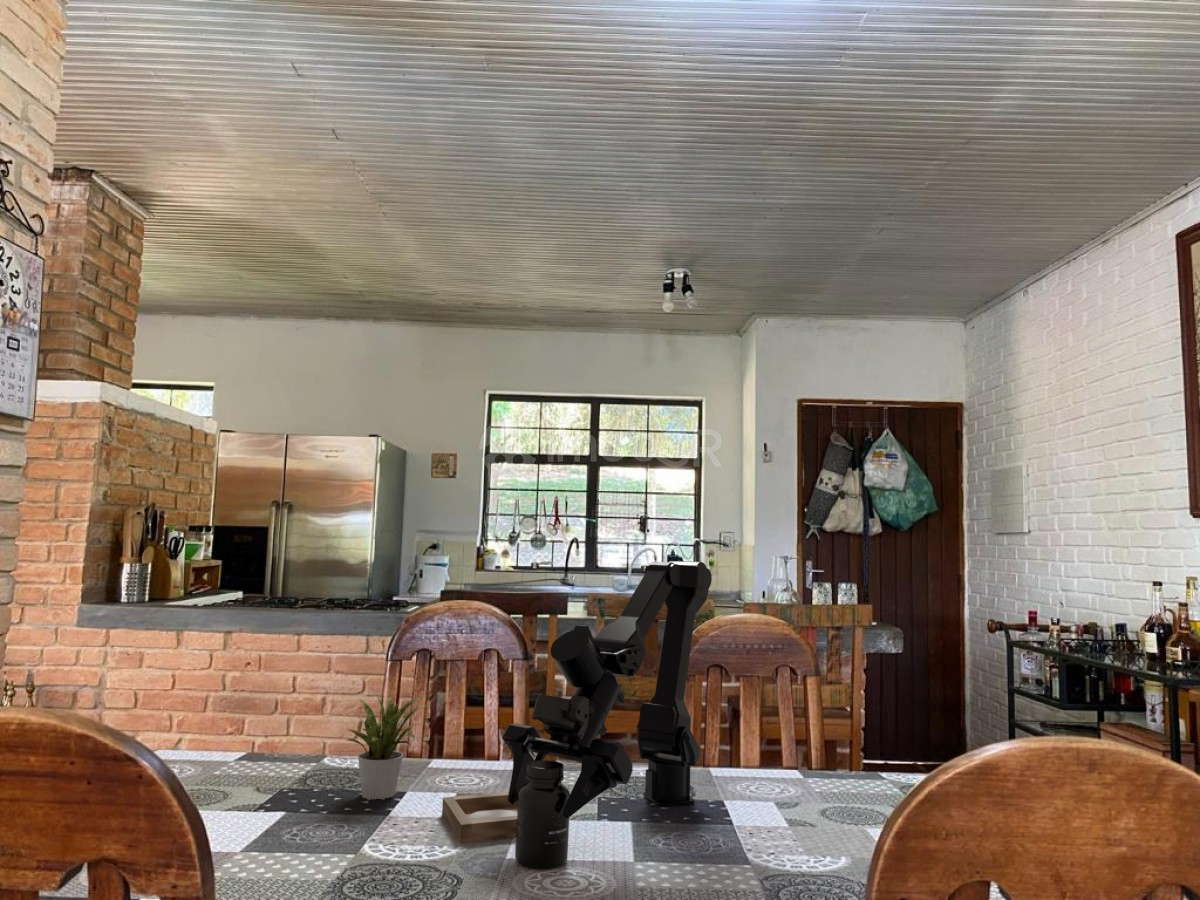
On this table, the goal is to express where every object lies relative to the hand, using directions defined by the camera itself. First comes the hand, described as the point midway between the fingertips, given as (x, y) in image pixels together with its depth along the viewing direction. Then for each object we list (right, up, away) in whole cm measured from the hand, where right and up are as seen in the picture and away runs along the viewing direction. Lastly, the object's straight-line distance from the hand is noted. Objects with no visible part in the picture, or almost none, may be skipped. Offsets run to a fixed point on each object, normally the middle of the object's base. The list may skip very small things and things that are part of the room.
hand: (536, 809), depth 102 cm
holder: (-7, -8, +14) cm, 18 cm away
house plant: (-26, -10, +27) cm, 39 cm away
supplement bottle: (+1, -7, 0) cm, 7 cm away
